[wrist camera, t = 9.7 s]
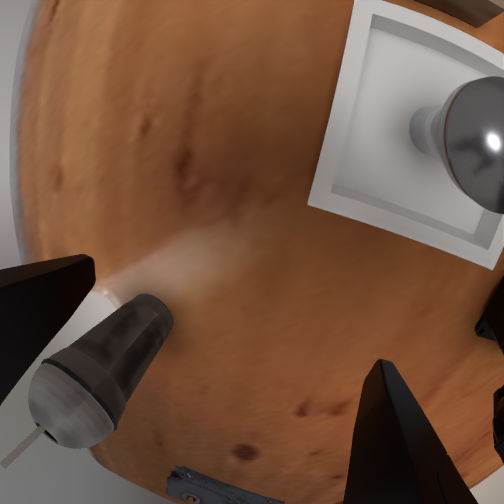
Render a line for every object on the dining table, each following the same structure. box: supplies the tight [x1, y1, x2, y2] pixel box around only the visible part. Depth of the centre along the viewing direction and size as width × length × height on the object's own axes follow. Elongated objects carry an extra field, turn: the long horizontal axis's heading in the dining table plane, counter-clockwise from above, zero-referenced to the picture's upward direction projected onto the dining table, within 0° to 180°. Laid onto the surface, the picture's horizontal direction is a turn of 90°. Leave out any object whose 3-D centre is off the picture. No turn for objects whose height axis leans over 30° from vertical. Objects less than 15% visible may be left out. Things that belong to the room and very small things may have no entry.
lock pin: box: [409, 76, 504, 214], centre depth 11 cm, size 4×4×9 cm
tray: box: [307, 0, 504, 270], centre depth 14 cm, size 12×12×4 cm
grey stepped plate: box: [166, 466, 285, 504], centre depth 43 cm, size 15×22×5 cm
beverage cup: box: [1, 294, 173, 468], centre depth 19 cm, size 7×7×20 cm
